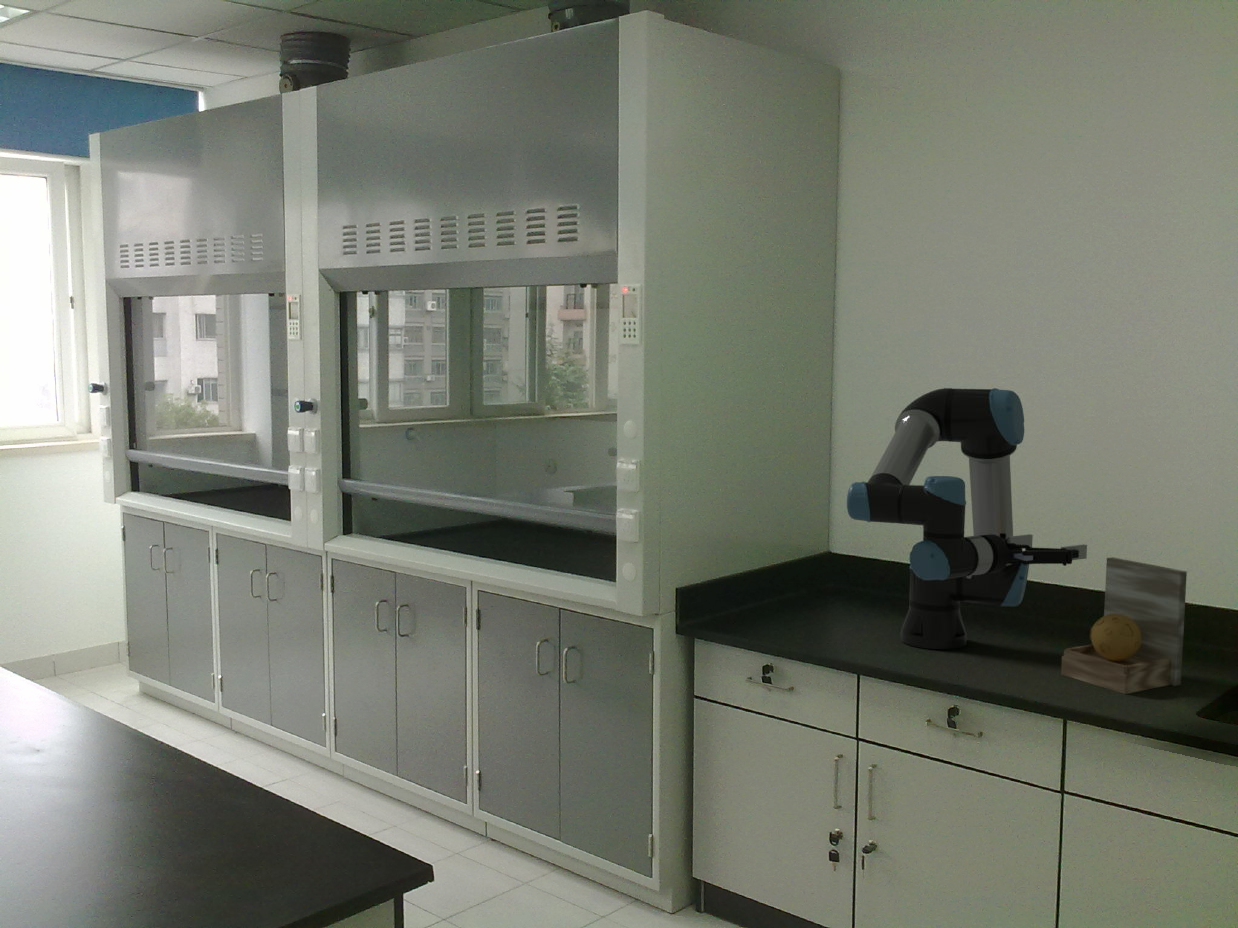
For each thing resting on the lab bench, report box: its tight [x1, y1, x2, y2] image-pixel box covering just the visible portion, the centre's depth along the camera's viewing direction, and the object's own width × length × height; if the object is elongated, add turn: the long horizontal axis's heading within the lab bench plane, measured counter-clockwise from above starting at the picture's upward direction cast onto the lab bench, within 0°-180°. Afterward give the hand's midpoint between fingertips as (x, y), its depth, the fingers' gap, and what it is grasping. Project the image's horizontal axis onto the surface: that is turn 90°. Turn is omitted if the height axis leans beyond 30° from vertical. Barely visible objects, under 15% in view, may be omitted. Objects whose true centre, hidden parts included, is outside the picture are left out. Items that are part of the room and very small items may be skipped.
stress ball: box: [1089, 614, 1142, 662], centre depth 245 cm, size 10×10×10 cm
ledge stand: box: [1060, 556, 1188, 695], centre depth 245 cm, size 16×18×24 cm
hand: (1057, 546), depth 234 cm, fingers open, 13 cm apart
